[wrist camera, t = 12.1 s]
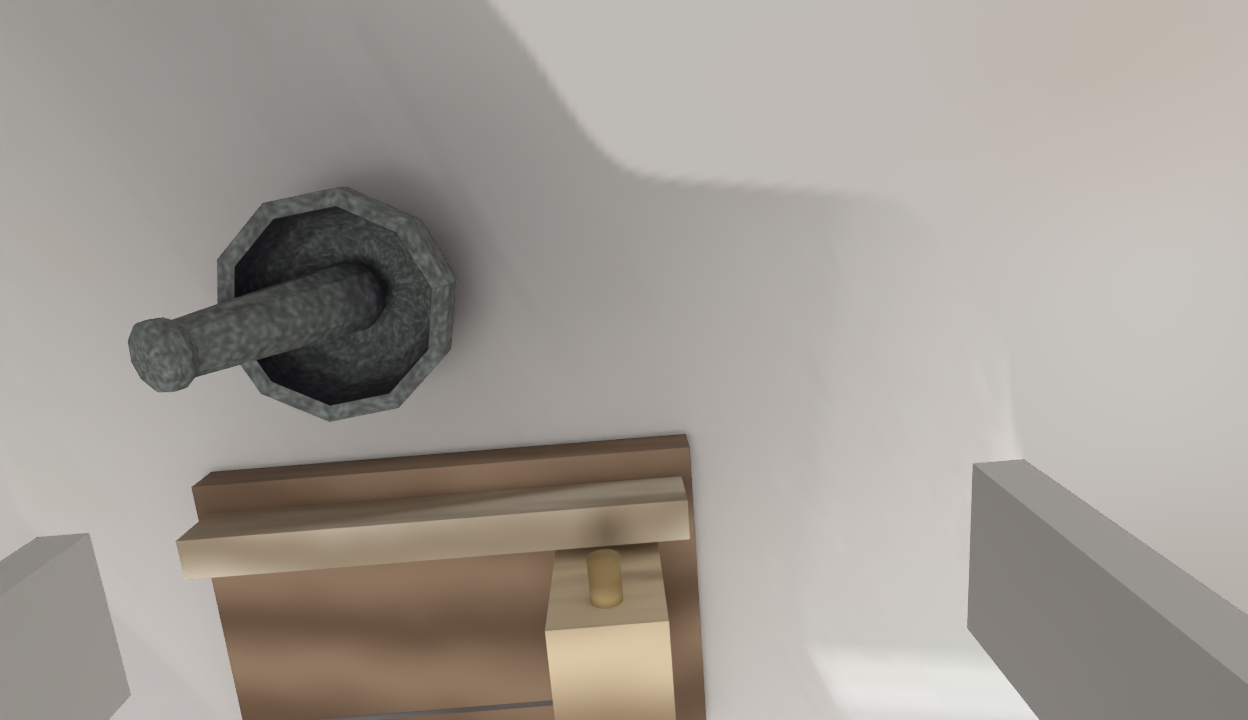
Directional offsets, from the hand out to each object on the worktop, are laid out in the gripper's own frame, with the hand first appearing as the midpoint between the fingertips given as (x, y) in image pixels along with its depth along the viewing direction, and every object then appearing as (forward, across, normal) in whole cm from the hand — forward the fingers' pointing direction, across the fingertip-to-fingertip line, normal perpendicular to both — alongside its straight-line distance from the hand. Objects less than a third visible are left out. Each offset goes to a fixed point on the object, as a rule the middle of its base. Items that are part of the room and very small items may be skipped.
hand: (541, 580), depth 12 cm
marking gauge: (+26, 0, -16) cm, 31 cm away
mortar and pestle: (+29, -11, +1) cm, 31 cm away
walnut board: (+28, -8, -16) cm, 34 cm away
